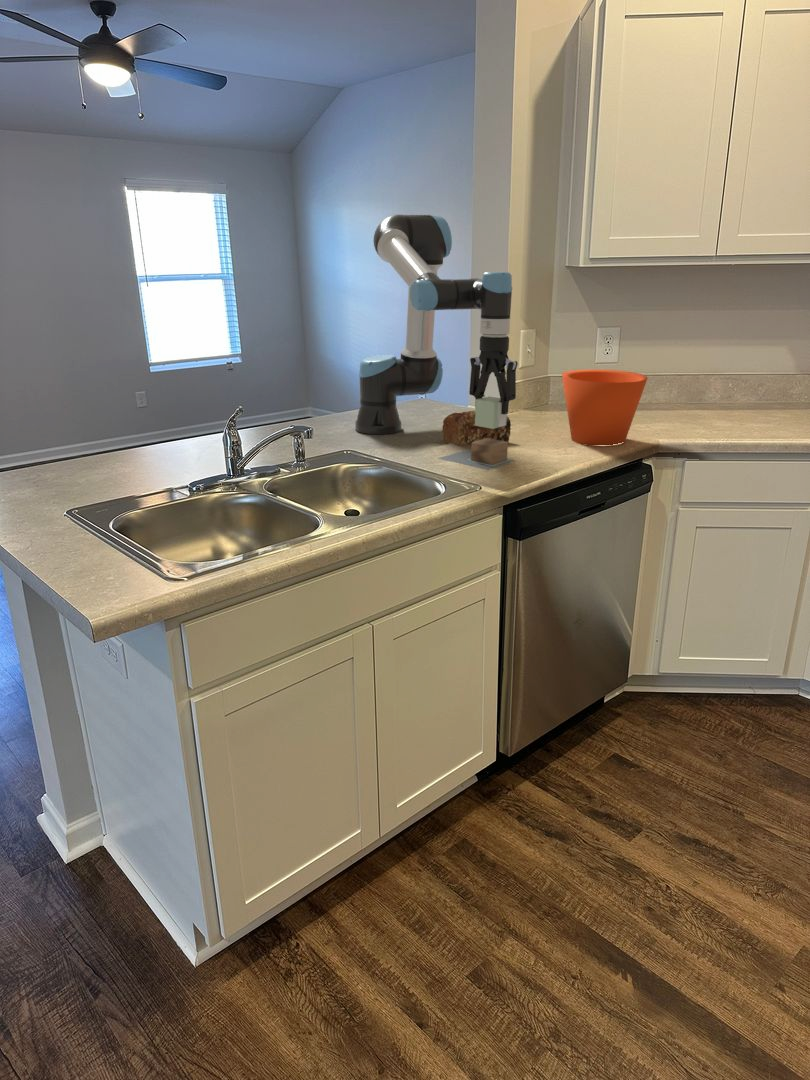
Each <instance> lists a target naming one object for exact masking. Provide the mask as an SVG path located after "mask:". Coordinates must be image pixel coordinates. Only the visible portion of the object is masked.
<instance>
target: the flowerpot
mask: <svg viewBox="0 0 810 1080" xmlns="http://www.w3.org/2000/svg"><path fill="white" fill-rule="evenodd" d="M561 376H562V383H563V390H564V397H565V404H566V410H567V418H568V425H569V432H570V438H571V441H573V442H574V443H576V444H579V443H580V445H583V444H587V445H586V446H589V445H613V444H618V443H622V442H624V441H625V442H626V440H627V437H628V434H629V431H630V429H631V426H632V423H633V421H634V417H635V414H636V412H637V409H638V406H639V404H640V401H641V399H642V398H641V397H642V395H643V393H644V390H645V387H646V384H647V381H648V375H645V374H643V373H638V372H633V371H626V370H625V371H624V370H616V369H615V370H614V369H575V370H568V371H564V372H563V373H561Z"/></svg>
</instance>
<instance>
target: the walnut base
mask: <svg viewBox="0 0 810 1080" xmlns="http://www.w3.org/2000/svg"><path fill="white" fill-rule="evenodd" d="M508 444H509V441H508V442H505V441H500V440H495V439H490V438H485V439H482V440H478V441H475V442H472V444H471V449H470V450H471V460H472V461H476V462H481V463H485V464H490V465H493V464H496V463H499V462H502V461H505V460H507V458H508V449H509V447H508V446H509V445H508Z"/></svg>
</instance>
